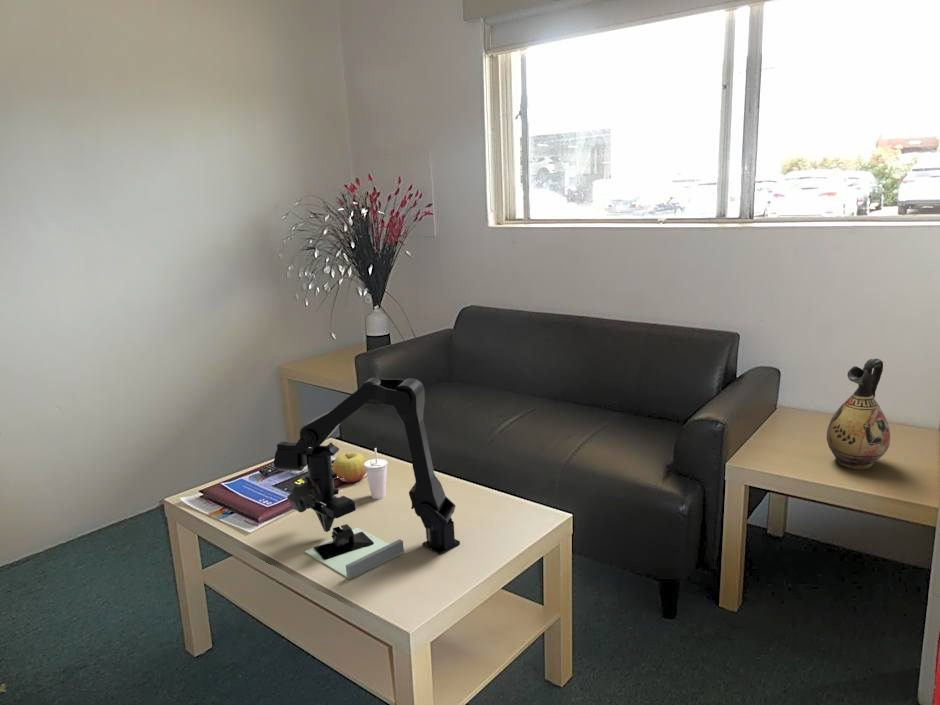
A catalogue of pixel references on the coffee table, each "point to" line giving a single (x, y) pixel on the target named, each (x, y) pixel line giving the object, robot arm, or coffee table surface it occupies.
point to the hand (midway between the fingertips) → (327, 531)
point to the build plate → (343, 542)
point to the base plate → (361, 556)
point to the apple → (349, 466)
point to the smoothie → (376, 476)
